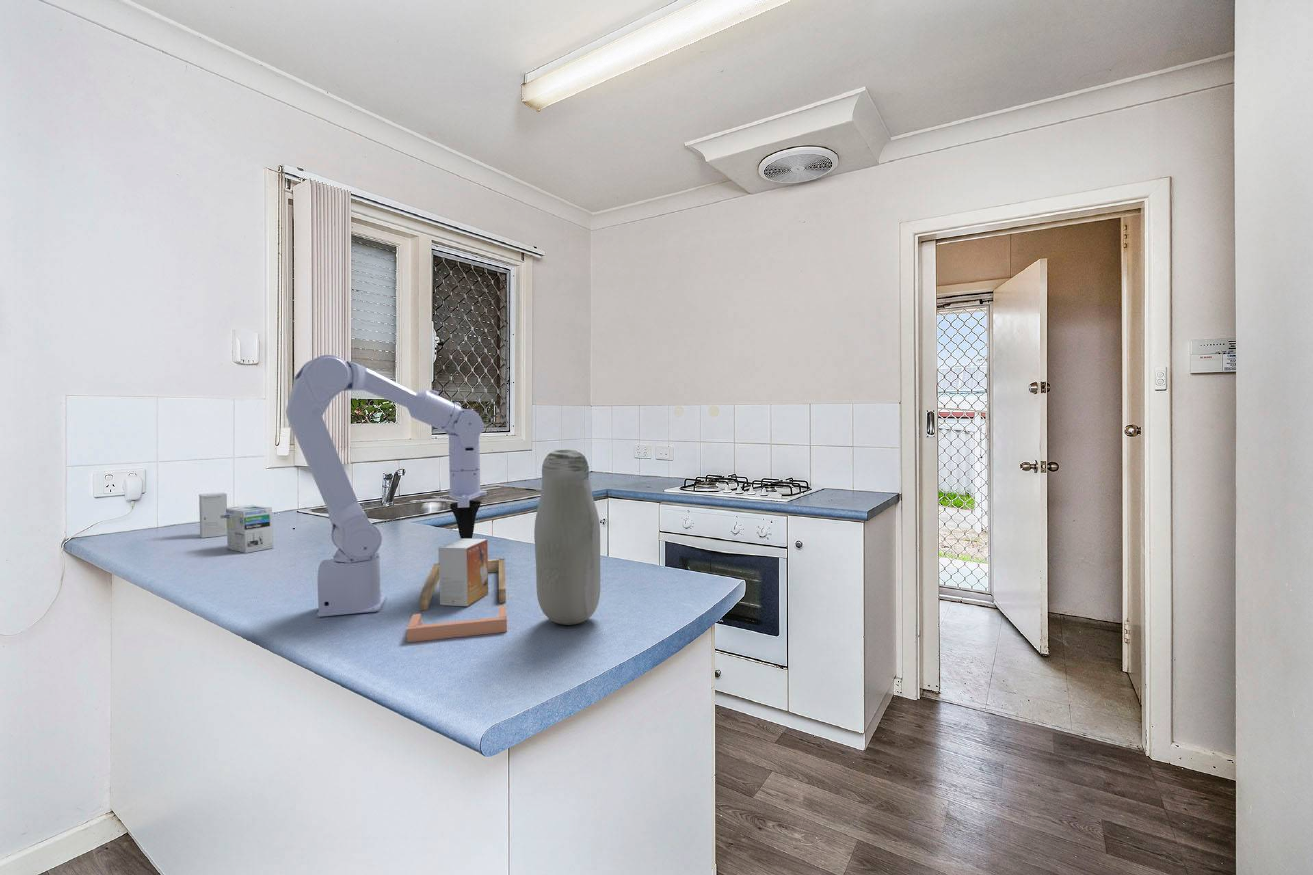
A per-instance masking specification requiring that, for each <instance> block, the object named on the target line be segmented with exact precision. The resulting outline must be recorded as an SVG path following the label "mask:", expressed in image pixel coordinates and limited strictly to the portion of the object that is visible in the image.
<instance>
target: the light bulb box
mask: <svg viewBox="0 0 1313 875" xmlns="http://www.w3.org/2000/svg"><path fill="white" fill-rule="evenodd" d="M226 522H227V535H226V540H227V549H228V550H233V551H237V552H240V553H243V554H249V553H254V552H259V551H260V552H261V551H265V550H269V549H274V548H275V545H274V542H275V541H274V528H273V508H272V506H271V507H269V506H263V505H262V506H261V505H254V504H249V505H241V506H240V505H239V506H231V507H228V506H227V508H226Z"/></svg>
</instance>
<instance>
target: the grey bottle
mask: <svg viewBox="0 0 1313 875" xmlns="http://www.w3.org/2000/svg"><path fill="white" fill-rule="evenodd" d="M589 474H590V466H589V463H588V461H587V458H586V456H585V455H584V454H583V453H581V452H579V451H577V450H574V449H573V450H572V449H556V450H553V451H551V452H549V453H548V454H547V455H546V456H545V458H544V460H543V463H542V467H541V479H542V480H541V492H540V497H539V501H538V506H537V511H536V515H535V520H534V530H533V531H534V536H533V537H534V556H535V557H534V558H535V578H536V579H535V583H536V595H537V602H538V605H539V607H540V609H541V611H542V613H543V614H544V615H545V616H546V617H547V619H549V620H550V621H552V622H554V623H556V624H559V625H567V626H571V625H573V626H574V625H577V624H581V623H584V622H586V621H587V620H588V619H590V617H593V615H594V613H595V612H596V610H597V608H598V605H599V603H600V602H599V601H600V595H601V524H600V519H599V518H600V517H599V512H598V508H597V506H596V502H595V500H594V496H593V494H592V493H593V492H592V487H591V482H590V478H589Z"/></svg>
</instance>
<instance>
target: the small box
mask: <svg viewBox="0 0 1313 875" xmlns="http://www.w3.org/2000/svg"><path fill="white" fill-rule="evenodd" d="M488 553H489V552H488V538H487V539H486V538H472V539H468V538H459V539H457V540H455V541H453V542H450V543H448V544H445V545H443V546H439V547H438V563H439V580H438V582H439V583H438V584H439V586H438V588H439V605H440V606H451V607H469V606H470V605H472V604H473V603H475V602H476V601H478V600H480V599H481V598H483V597H486V596H488V595H489V573H488V560H489V556H488V555H489V554H488Z"/></svg>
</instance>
